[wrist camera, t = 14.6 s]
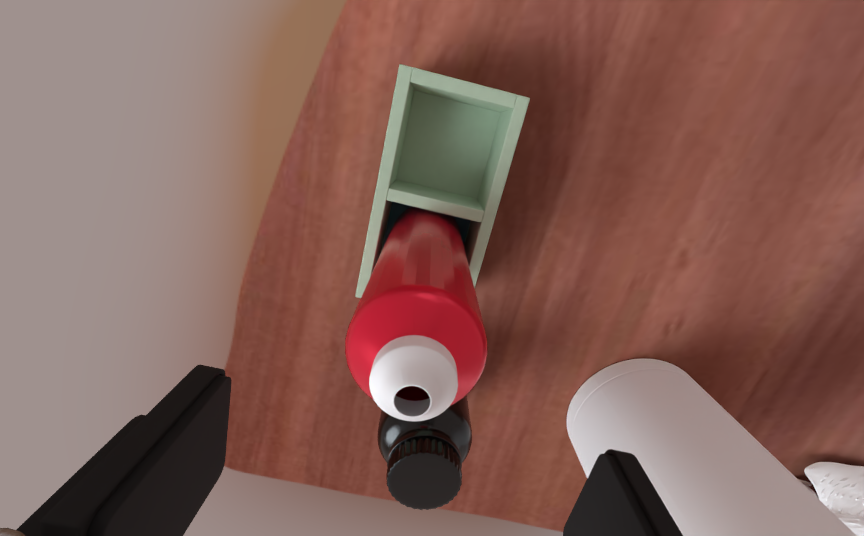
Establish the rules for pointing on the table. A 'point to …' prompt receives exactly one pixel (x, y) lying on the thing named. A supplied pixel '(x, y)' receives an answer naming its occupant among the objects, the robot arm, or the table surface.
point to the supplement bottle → (426, 455)
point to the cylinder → (693, 454)
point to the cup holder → (444, 159)
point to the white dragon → (839, 491)
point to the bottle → (418, 321)
